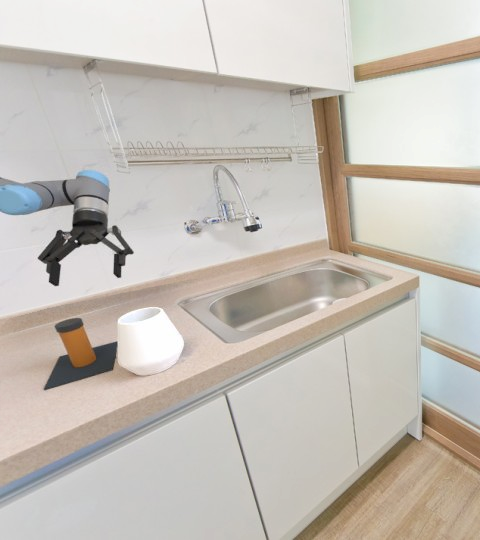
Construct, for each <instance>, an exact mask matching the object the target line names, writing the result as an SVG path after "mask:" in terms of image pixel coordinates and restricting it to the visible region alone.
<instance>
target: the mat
mask: <svg viewBox="0 0 480 540" xmlns="http://www.w3.org/2000/svg"><path fill="white" fill-rule="evenodd" d="M92 349H93V351H94V353H95V356H96V360H95V361H94V362H93V363H91V364H89V365H86V366H83V367H74V366H73V364H72V362H71V360H70V358H69V355H68V353H66V354H64V355H60V356H58V358H57V361H56V363H55V365H54V366H53V369H52V371H51V373H50V375H49V378H48V379H47V381H46V383H45V385H44V388H43V390H44V391H47V390H50V389H54V388H57V387H60V386H64V385H67V384H71V383H73V382H77V381H82V380H84V379H87V378H90V377H93V376H97V375H101V374H105V373H108V372H111V371H113V370H114V365H115V360H116V356H117V351H118V340H117V341H113V342H108V343H104V344H102V345H98V346H97V345H96V346H92Z"/></svg>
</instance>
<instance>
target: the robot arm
mask: <svg viewBox="0 0 480 540" xmlns="http://www.w3.org/2000/svg"><path fill="white" fill-rule="evenodd" d="M110 192H111V188H110V180H109V178H108V177H107V176H106V175H105V174H104V173H102V172H100V171H97V170H94V169H83V170H81V171H79V172H77V174H76V176H75V178H69V179H57V180H35V181H29V182H18V181H14V180H12V179H9V178H5V177H1V176H0V212H1V213H2V214H5V215H8V216H27V215H31V214H34V213H37V212H41V211H44V210H49V209H53V208H59V207H68V206H73V210H72V221H71V227H72V228H71V230H69V231H63V230H62V229H58V230H56V232H55V236H54V238H53V239H52V240H51V241H50V242H49V243H48V244H47V245H46V247H45V248H44V249H43V251H42V252H40V254H39V255H38V256H37V260H38V261H40V262H41V263H42V264H45V265H46V266H45V272H46V273H47V274H48V283H49V284H51V285H52V286H54V287H59V286H60V279H61V278H60V277H61V268H62V264H61V263H60V262H61V261H62V260H64V259H65V258H66V257H67V256H69V255H70V254H71V253H73V252H74V251H75V250H76V249H79V248H80V247H82V246H89V245H98V244H99V243H102V244H103V245H105V246H106V247H108V248H109V249H111V250H112V251H113V252H115V253H113V268H112V269H113V270H112V273H113V275H114V276H115V277H116V278H117V279H121V278H122V267H125V266H126V259H127V256H129V255H130V256H131V255H134V254H135V252H134V250H133V249H132V247H131V246H130V245H129V243H128V242H127V241H126V240H125V239H124V237H123V236H122V230H121V229H120V228H119V227H118V225H117V224H115V225H112V226H111V227H109V228H108V225H109V224H108V223H109V201H110V199H109V198H110ZM109 234H111V235H112V236H114V237H115V238H116V240H118V242H119V243H120V244H121V246H122V247H123V248H124V249H122V248H120V247H119V246H117V245H116V244H115V243H113V242H112V241H110V240H109V239H107V238H106V237H107V236H108V235H109Z"/></svg>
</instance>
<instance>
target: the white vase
mask: <svg viewBox="0 0 480 540" xmlns="http://www.w3.org/2000/svg"><path fill="white" fill-rule="evenodd" d="M116 324H117V325H116V326H117V327H116V328H117V329H116V330H117V332H116V333H117V341H118V345H117V363H118V364H119V366H120V367H122V368H124V369H125V370H127V371H129V372H131V373H133V374H135V375H137V376H141V377H143V376H144V377H146V376H151V375H153V376H154V375H156V374H159V373H162V372H164V371H166V370H168V369H170V368H172V367H174V365H175V364H177V362H178V361H179V359H180V357H181V354H182V352H183V349H184V347H185V341H184V338H183V335H182V334H180V332H179V330H178V329H177V328H176V326H175V325H174V323H173V322H172V321H171V319H170V318H169V316H168V315H167V313H166V312H165V310H164V309H163V308H161V307H157V306H150V307H144V308H140V309H135V310H132V311H129V312H127V313H125V314H124V315H121V316H120V317H119V318H118V319H117V323H116Z"/></svg>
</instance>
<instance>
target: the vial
mask: <svg viewBox="0 0 480 540" xmlns="http://www.w3.org/2000/svg"><path fill="white" fill-rule="evenodd" d="M84 325H85V324H84V321H83V319H82V318H81V317H73V318H68V319H65V320H62V321H59V322H58V323H55V325H54V329H55V331H56V333H58V335H59V337H60V339H61V342H62V344H63V347H64V349H65V350H66V354H68V355H69V358H70V360H71V362H72V364H73V366H74V367H83V366H86V365H89V364H91V363H93V362H94V361H95V360H96V356H95V353H94V351H93V349H92V348H93V346H92V344H91V342H90V339H89V336H88V334H87V332H86V329H85V326H84Z"/></svg>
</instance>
